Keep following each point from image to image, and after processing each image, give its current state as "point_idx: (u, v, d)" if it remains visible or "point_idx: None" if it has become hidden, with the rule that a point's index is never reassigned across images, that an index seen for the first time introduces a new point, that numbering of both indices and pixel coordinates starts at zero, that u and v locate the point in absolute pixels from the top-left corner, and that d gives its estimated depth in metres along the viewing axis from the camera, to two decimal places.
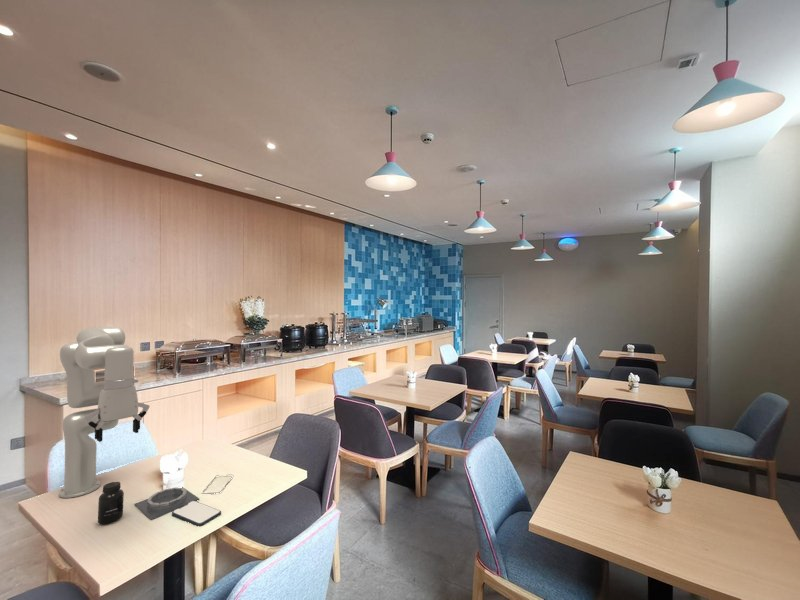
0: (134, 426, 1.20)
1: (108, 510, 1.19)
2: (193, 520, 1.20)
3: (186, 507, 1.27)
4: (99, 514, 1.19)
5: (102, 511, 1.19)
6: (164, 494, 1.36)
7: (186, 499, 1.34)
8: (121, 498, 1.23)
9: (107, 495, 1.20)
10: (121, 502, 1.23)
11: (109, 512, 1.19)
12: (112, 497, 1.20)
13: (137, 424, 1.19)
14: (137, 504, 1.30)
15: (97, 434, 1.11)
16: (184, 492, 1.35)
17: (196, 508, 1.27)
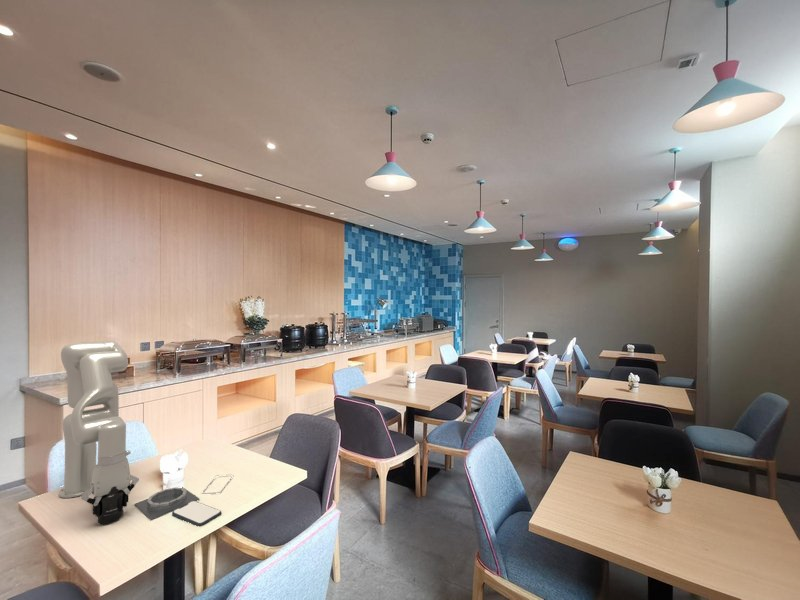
0: (123, 500, 1.25)
1: (108, 510, 1.19)
2: (193, 520, 1.20)
3: (186, 507, 1.27)
4: None
5: (102, 511, 1.19)
6: (164, 494, 1.36)
7: (186, 499, 1.34)
8: (121, 498, 1.23)
9: (107, 495, 1.20)
10: (121, 502, 1.23)
11: (109, 512, 1.19)
12: (112, 497, 1.20)
13: (125, 498, 1.24)
14: (137, 504, 1.30)
15: (95, 510, 1.18)
16: (184, 492, 1.35)
17: (196, 508, 1.27)
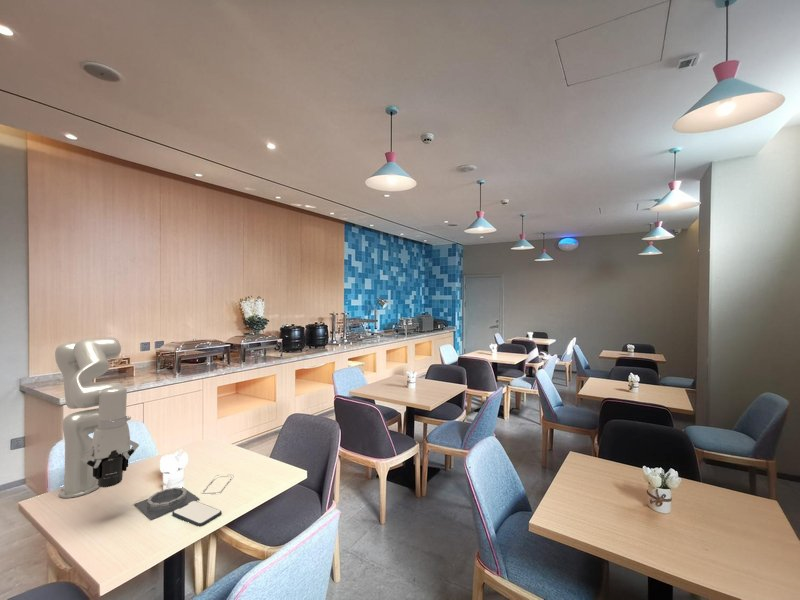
0: None
1: (108, 473, 1.20)
2: (193, 520, 1.20)
3: (186, 507, 1.27)
4: None
5: (102, 474, 1.20)
6: (164, 494, 1.36)
7: (186, 499, 1.34)
8: (121, 462, 1.23)
9: (107, 459, 1.21)
10: (121, 466, 1.23)
11: (109, 475, 1.20)
12: (112, 461, 1.21)
13: (125, 463, 1.25)
14: (137, 504, 1.30)
15: (95, 472, 1.19)
16: (184, 492, 1.35)
17: (196, 508, 1.27)
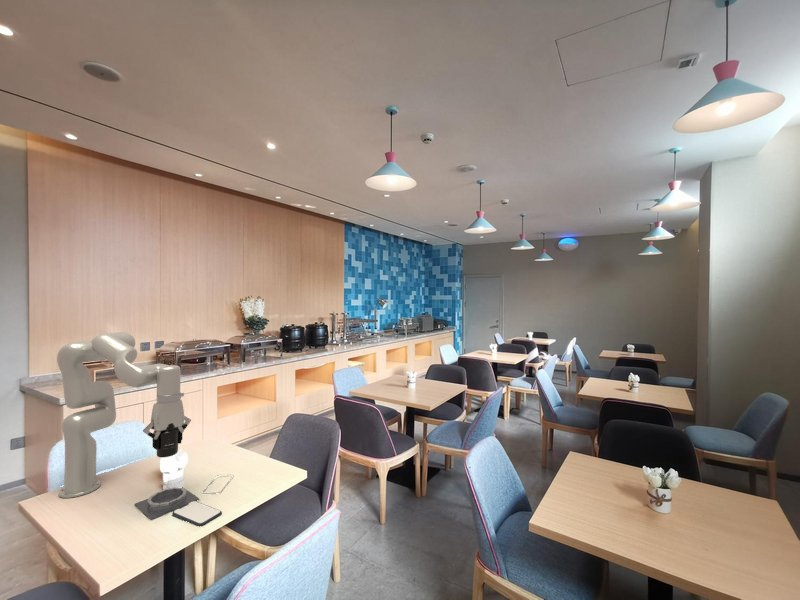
0: None
1: (166, 444, 1.30)
2: (194, 520, 1.20)
3: (187, 507, 1.27)
4: None
5: (161, 445, 1.30)
6: (164, 494, 1.36)
7: (186, 499, 1.34)
8: (177, 435, 1.33)
9: (165, 431, 1.31)
10: (177, 438, 1.34)
11: (167, 446, 1.30)
12: (170, 433, 1.31)
13: (180, 436, 1.35)
14: (137, 504, 1.30)
15: (155, 443, 1.29)
16: (184, 492, 1.35)
17: (197, 508, 1.27)
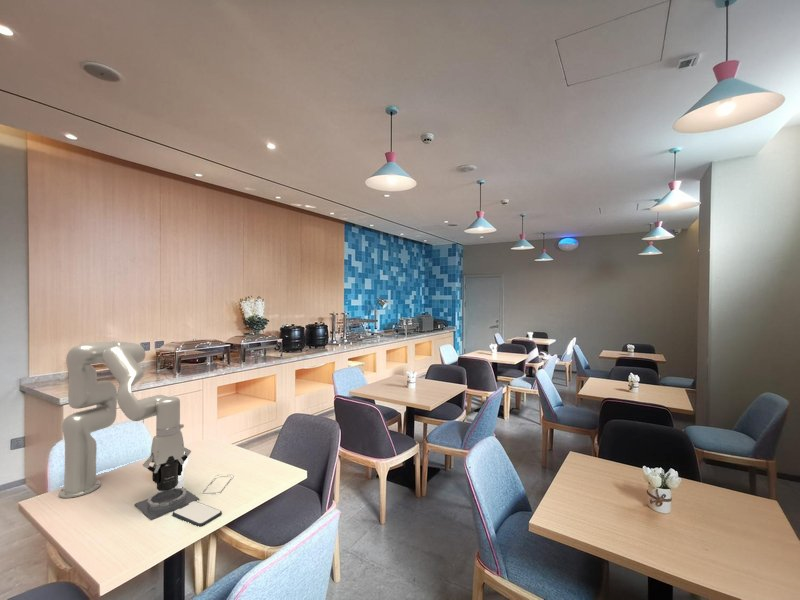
0: None
1: (166, 477, 1.30)
2: (194, 520, 1.20)
3: (187, 507, 1.27)
4: None
5: (161, 478, 1.29)
6: (164, 494, 1.36)
7: (186, 499, 1.34)
8: (177, 467, 1.33)
9: (165, 464, 1.31)
10: (177, 471, 1.33)
11: (167, 479, 1.30)
12: (170, 466, 1.31)
13: (180, 468, 1.35)
14: (137, 504, 1.30)
15: (155, 477, 1.29)
16: (184, 492, 1.35)
17: (197, 508, 1.27)
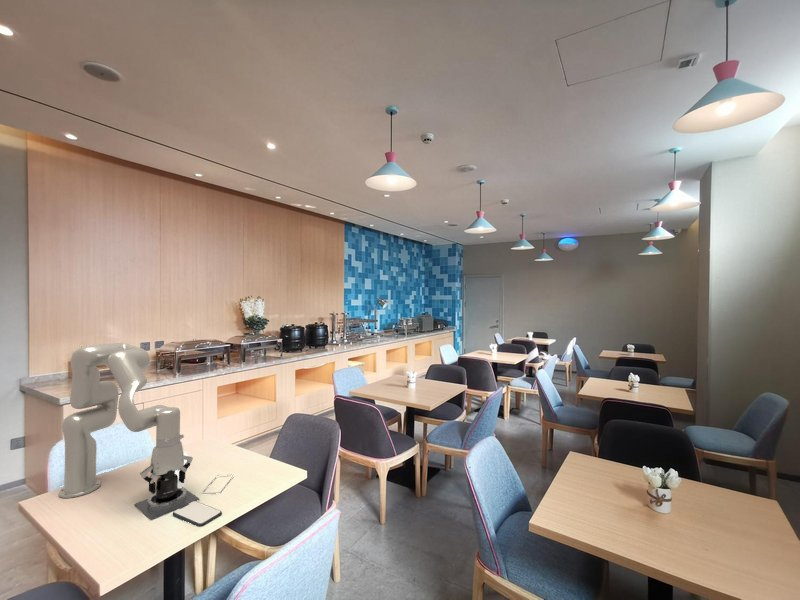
0: (180, 477, 1.36)
1: (165, 491, 1.30)
2: (194, 520, 1.20)
3: (187, 507, 1.27)
4: (157, 496, 1.30)
5: (160, 493, 1.29)
6: None
7: (186, 499, 1.34)
8: (176, 481, 1.33)
9: (164, 478, 1.31)
10: (176, 485, 1.33)
11: (166, 494, 1.30)
12: (169, 480, 1.31)
13: (183, 475, 1.36)
14: (137, 504, 1.30)
15: (151, 487, 1.28)
16: (184, 492, 1.35)
17: (197, 508, 1.27)
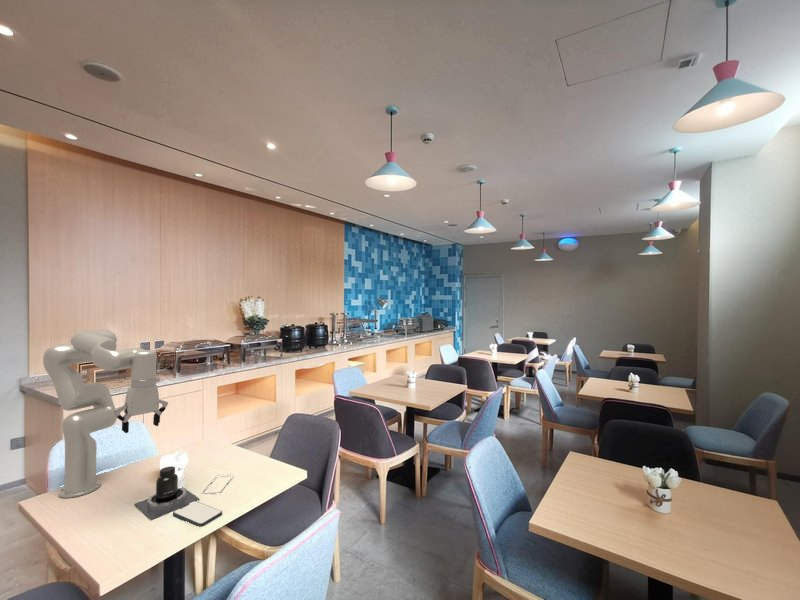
0: (155, 420, 1.37)
1: (165, 492, 1.30)
2: (194, 520, 1.20)
3: (187, 507, 1.27)
4: (157, 496, 1.30)
5: (160, 493, 1.29)
6: None
7: (186, 499, 1.34)
8: (176, 481, 1.33)
9: (164, 478, 1.31)
10: (176, 485, 1.33)
11: (166, 494, 1.30)
12: (169, 480, 1.31)
13: (157, 418, 1.36)
14: (137, 504, 1.30)
15: (124, 426, 1.28)
16: (184, 492, 1.35)
17: (197, 508, 1.27)
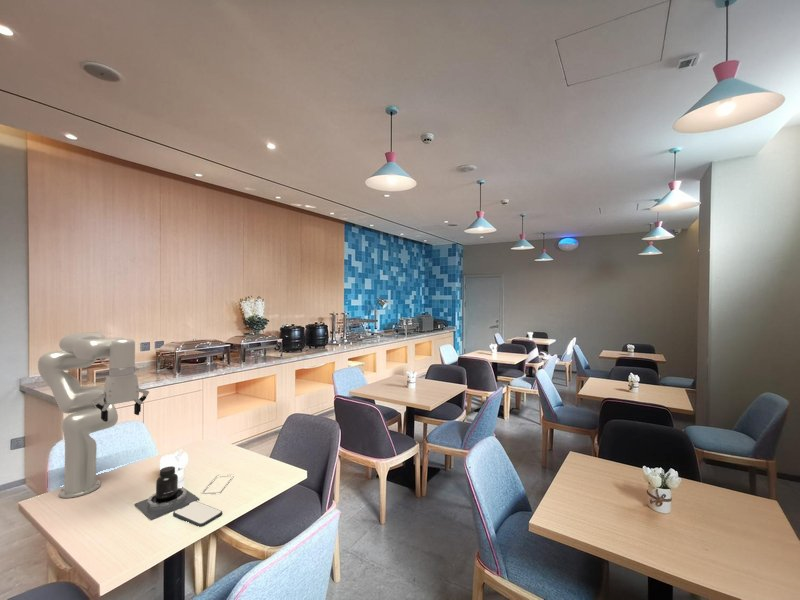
0: (135, 409, 1.36)
1: (165, 491, 1.30)
2: (194, 520, 1.20)
3: (187, 507, 1.27)
4: (157, 496, 1.30)
5: (160, 493, 1.29)
6: None
7: (186, 499, 1.34)
8: (176, 481, 1.33)
9: (164, 478, 1.31)
10: (176, 485, 1.33)
11: (166, 494, 1.30)
12: (169, 480, 1.31)
13: (138, 407, 1.35)
14: (137, 504, 1.30)
15: (103, 415, 1.27)
16: (184, 492, 1.35)
17: (197, 508, 1.27)
